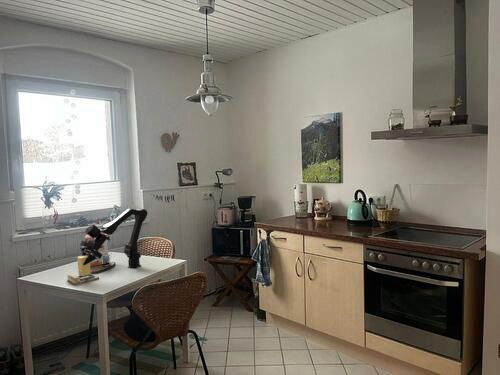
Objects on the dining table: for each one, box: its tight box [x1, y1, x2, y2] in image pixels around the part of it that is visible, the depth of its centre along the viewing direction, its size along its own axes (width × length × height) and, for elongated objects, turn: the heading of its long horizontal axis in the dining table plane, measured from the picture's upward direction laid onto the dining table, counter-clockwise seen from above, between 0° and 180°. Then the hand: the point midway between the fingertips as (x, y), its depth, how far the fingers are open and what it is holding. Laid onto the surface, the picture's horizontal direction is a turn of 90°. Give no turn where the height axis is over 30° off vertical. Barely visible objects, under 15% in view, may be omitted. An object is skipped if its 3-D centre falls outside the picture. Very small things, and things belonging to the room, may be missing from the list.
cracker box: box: [84, 234, 109, 267], centre depth 257 cm, size 14×6×21 cm, turn 112°
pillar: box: [77, 255, 92, 276], centre depth 223 cm, size 5×5×11 cm
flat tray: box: [66, 273, 100, 286], centre depth 223 cm, size 14×12×4 cm
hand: (81, 264), depth 222 cm, fingers closed on pillar, 5 cm apart
